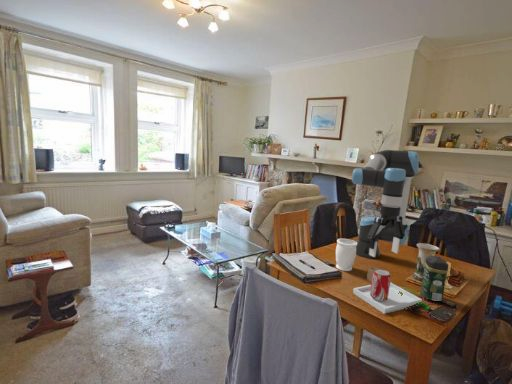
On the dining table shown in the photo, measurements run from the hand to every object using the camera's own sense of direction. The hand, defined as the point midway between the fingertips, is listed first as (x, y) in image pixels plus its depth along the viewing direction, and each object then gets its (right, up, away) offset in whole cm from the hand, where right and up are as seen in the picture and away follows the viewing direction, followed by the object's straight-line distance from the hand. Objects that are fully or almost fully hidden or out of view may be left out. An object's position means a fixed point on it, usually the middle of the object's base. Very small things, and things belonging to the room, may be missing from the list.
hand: (383, 254), depth 122 cm
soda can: (-2, -19, 0) cm, 19 cm away
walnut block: (+3, -17, +18) cm, 25 cm away
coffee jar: (+24, -21, +6) cm, 32 cm away
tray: (+2, -20, +2) cm, 20 cm away
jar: (-7, -15, +31) cm, 35 cm away
